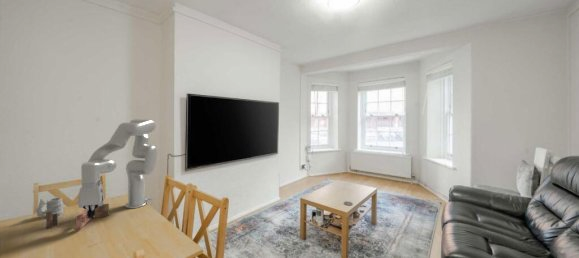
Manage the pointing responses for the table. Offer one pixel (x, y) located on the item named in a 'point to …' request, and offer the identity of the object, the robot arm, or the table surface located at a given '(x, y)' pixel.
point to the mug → (51, 207)
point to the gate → (79, 219)
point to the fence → (99, 212)
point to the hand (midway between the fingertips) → (91, 216)
